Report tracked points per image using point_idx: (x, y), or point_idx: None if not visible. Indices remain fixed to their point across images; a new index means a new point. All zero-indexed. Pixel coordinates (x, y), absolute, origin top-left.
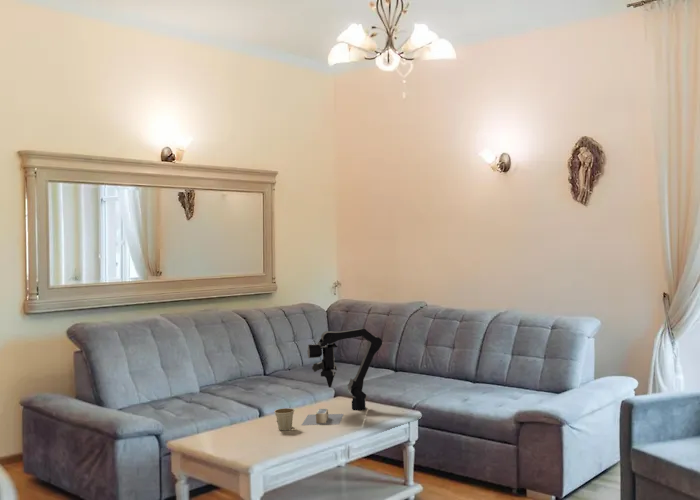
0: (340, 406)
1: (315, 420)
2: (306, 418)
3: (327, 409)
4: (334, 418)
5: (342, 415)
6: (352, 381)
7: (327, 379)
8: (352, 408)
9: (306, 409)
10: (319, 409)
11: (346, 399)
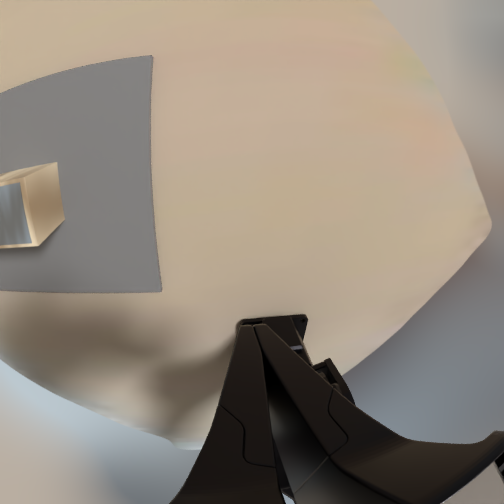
0: (370, 241)
1: (12, 155)
2: (51, 79)
3: (19, 246)
4: (57, 256)
5: (123, 290)
6: (282, 478)
7: (207, 453)
8: (262, 323)
9: (345, 36)
10: (8, 188)
11: (463, 250)
